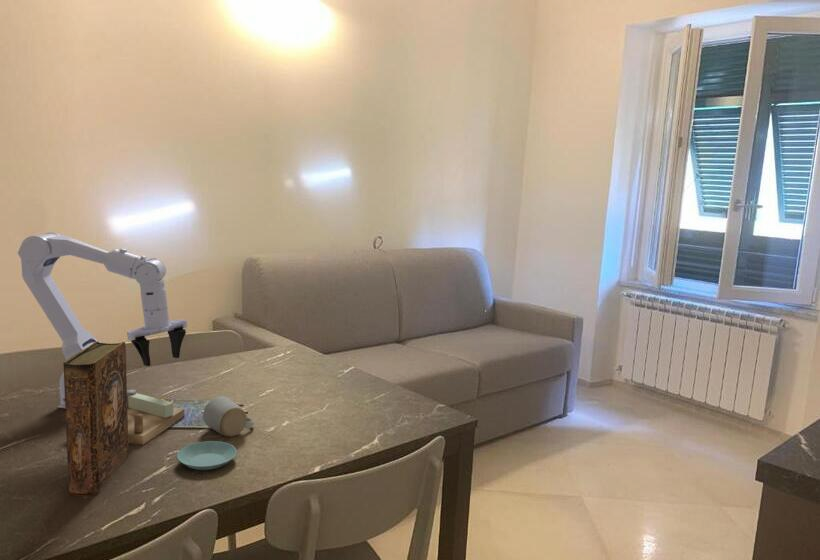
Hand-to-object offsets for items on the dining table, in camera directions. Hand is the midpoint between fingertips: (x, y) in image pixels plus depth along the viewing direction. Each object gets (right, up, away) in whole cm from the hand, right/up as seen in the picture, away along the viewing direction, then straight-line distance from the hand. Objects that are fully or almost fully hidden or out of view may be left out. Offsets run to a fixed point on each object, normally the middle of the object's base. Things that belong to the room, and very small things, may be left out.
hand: (161, 361), depth 158 cm
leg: (-1, -11, -7) cm, 13 cm away
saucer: (+20, -18, -27) cm, 38 cm away
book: (+1, -18, -34) cm, 39 cm away
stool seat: (-3, -14, -11) cm, 18 cm away
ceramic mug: (+20, -15, -10) cm, 27 cm away
